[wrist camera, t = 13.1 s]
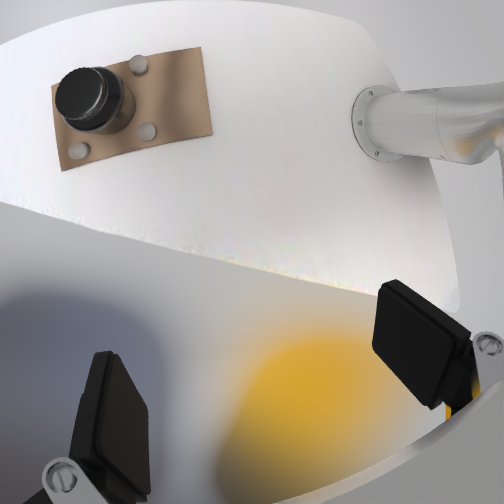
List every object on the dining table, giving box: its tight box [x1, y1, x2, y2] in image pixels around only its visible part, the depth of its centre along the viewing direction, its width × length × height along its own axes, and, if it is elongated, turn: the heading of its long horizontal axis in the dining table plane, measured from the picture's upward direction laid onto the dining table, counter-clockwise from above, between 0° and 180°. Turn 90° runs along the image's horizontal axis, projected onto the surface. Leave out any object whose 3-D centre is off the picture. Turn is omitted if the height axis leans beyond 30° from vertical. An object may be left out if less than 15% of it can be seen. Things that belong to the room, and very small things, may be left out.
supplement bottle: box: [55, 67, 136, 135], centre depth 23 cm, size 7×7×12 cm
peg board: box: [51, 47, 212, 171], centre depth 28 cm, size 20×12×4 cm, turn 97°
